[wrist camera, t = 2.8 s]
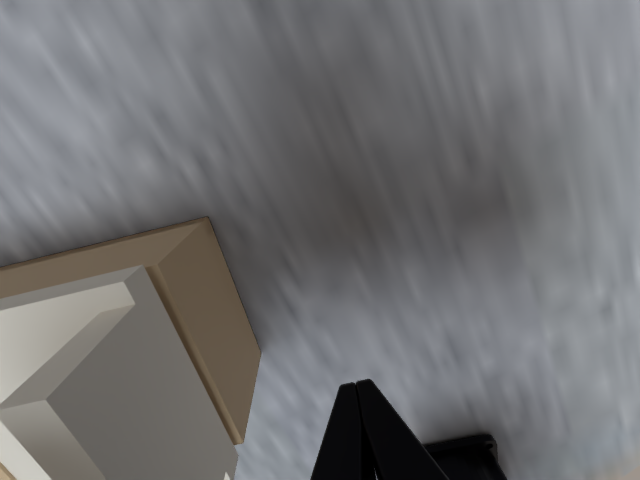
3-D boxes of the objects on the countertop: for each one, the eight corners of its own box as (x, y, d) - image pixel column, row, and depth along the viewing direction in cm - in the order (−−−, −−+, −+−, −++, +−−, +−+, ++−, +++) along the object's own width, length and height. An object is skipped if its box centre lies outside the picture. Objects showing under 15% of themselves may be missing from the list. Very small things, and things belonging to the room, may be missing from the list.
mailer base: (207, 216, 14) (157, 264, 9) (261, 353, 17) (243, 443, 12) (-113, 295, 15) (-312, 376, 10) (-10, 413, 17) (-125, 519, 13)
